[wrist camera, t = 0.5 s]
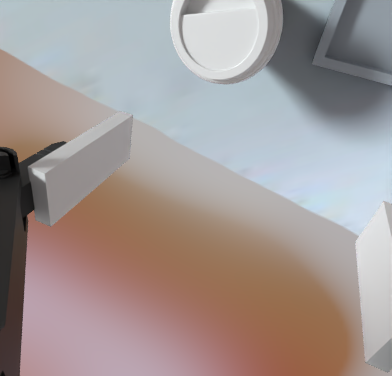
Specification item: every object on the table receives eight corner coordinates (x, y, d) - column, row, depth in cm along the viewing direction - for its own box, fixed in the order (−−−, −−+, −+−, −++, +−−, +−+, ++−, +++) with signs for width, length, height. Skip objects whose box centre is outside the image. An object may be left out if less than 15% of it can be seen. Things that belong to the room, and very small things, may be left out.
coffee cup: (313, -18, 34) (302, -23, 22) (275, 71, 39) (251, 106, 27) (229, -47, 35) (176, -67, 23) (204, 43, 41) (151, 66, 29)
